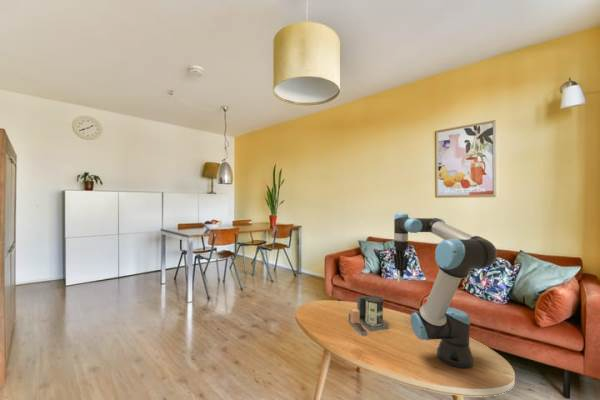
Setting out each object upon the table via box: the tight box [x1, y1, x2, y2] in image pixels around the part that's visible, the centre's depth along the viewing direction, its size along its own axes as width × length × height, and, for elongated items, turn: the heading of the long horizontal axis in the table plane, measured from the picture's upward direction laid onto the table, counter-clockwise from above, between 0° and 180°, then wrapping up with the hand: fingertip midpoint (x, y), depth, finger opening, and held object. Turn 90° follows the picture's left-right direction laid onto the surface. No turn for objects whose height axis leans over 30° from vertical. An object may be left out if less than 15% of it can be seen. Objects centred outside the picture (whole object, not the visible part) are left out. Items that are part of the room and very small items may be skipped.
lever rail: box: [348, 313, 368, 337], centre depth 162 cm, size 18×3×5 cm, turn 15°
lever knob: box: [349, 307, 360, 324], centre depth 165 cm, size 4×4×7 cm
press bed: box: [356, 295, 389, 332], centre depth 168 cm, size 16×12×14 cm
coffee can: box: [365, 295, 384, 326], centre depth 166 cm, size 10×10×14 cm
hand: (400, 281), depth 159 cm, fingers closed
